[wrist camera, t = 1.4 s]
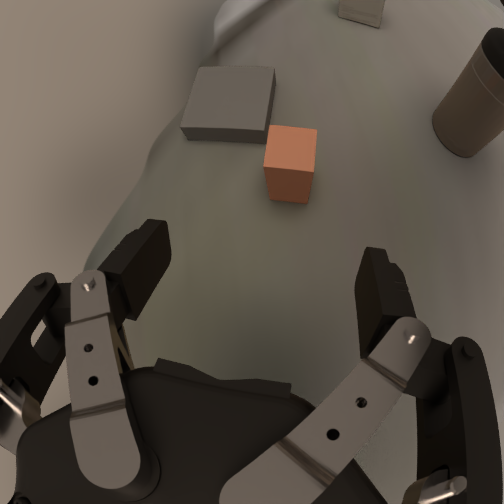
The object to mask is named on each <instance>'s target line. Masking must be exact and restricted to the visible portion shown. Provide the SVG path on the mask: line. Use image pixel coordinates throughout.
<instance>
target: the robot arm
mask: <svg viewBox="0 0 504 504" xmlns="http://www.w3.org/2000/svg"><path fill="white" fill-rule="evenodd" d="M500 1H501V3H502V4H503V6H504V0H500ZM432 120H433V126H434V129H435V132H436V134H437V136H438V137H439V139H440V140H441V142H442V143H443V144H444V145H445V146H446V147H447V148H448V149H449V150H450V151H452V152H453V153H455V154H457V155H459V156H462V157H471V156H474V155H475V154H476V153H477V152H478V151H480V150H481V149H482V148H483V147H484V146H486V145H487V144H488V143H489V142H490V141H492V140H493V139H494V138H495V137H496V136H497V135H498V134H500V133H501V132H502V131H503V130H504V29H502V28H491V29H490V30H489V31H488V32H487V33H486V35H485V36H484V38H483V40H482V41H481V43H480V45H479V46H478V48H477V49H476V51H475V52H474V54H473V56H472V57H471V59H470V60H469V62H468V64H467V65H466V67H465V68H464V70H463V71H462V73H461V74H460V76H459V77H458V79H457V80H456V82H455V83H454V85H453V86H452V88H451V89H450V90H449V92H448V93H447V95H446V96H445V97H444V99H443V100H442V102H441V103H440V105H439V106H438V107H437V109H436V110H435V112H434V114H433V119H432ZM170 261H171V246H170V239H169V232H168V225H167V222H166V221H164V220H155V219H147V220H146V221H145V222H144V224H143V225H142V226H141V227H140V228H139V229H136V230H134V231H132V232H131V233H129V234H127V235H126V236H125V237H124V238H123V239H122V241H121V242H120V244H118V245H117V246H116V247H115V250H113V251H112V252H111V253H110V254H109V256H108V257H107V258H106V259H105V260H104V262H103V263H102V264H101V265H100V266H99V268H98V269H97V270H88V271H85V272H82V273H81V274H79V275H78V276H77V277H75V278H74V280H73V281H72V283H57V281H56V279H55V277H54V275H53V274H52V273H48V272H47V273H41V274H39V275H36V276H35V277H33V278H32V279H31V280H30V281H29V282H28V284H27V285H26V286H25V287H24V289H23V290H22V292H21V293H20V294H19V295H18V296H17V298H16V299H15V300H14V302H13V303H12V304H11V305H10V307H9V308H8V309H7V311H6V312H5V314H4V315H3V316H2V318H1V319H0V445H1V446H2V447H4V448H5V449H7V450H9V451H10V452H11V453H13V454H14V455H16V467H17V472H16V474H17V475H16V487H15V492H14V495H13V497H12V498H11V500H10V501H9V503H8V504H388V503H387V502H386V500H385V499H384V498H383V497H382V495H381V494H380V493H379V491H378V490H377V489H376V487H375V486H374V485H373V483H372V482H371V481H370V479H369V478H368V477H367V475H366V474H365V473H364V471H363V470H362V469H361V467H360V466H359V465H358V463H357V462H356V461H355V459H354V456H355V455H356V454H357V453H358V452H359V450H360V449H361V448H362V447H363V446H364V444H365V443H366V442H367V441H368V440H369V438H370V437H371V436H372V435H373V433H374V432H375V431H376V429H377V428H378V427H379V425H380V424H381V423H382V421H383V420H384V419H385V417H386V416H387V415H388V413H389V412H390V410H391V409H392V408H393V406H394V405H395V403H396V402H397V400H398V399H399V397H400V396H401V394H402V393H406V394H409V395H412V396H415V397H416V411H417V481H415V482H414V483H412V484H411V485H410V486H409V487H408V488H407V490H406V492H405V494H404V497H403V501H402V504H502V500H503V497H502V495H503V489H502V488H503V483H502V482H503V481H502V460H501V447H500V438H499V430H498V422H497V416H496V410H495V404H494V399H493V394H492V389H491V384H490V380H489V376H488V371H487V367H486V364H485V360H484V356H483V353H482V350H481V348H480V347H479V345H478V344H477V343H476V342H475V341H473V340H472V339H470V338H468V337H458V338H456V339H455V340H454V341H453V343H452V344H451V345H450V344H447V343H444V342H441V341H439V340H436V339H434V338H432V337H431V333H430V331H429V329H428V327H427V326H426V325H425V324H424V323H423V322H421V321H420V320H418V319H417V318H416V314H415V310H414V307H413V303H412V300H411V296H410V293H409V292H408V287H407V284H406V280H405V277H404V274H403V272H402V271H401V269H400V268H399V267H398V266H397V265H396V264H395V263H390V262H389V259H388V256H387V253H386V250H385V249H380V248H373V247H366V249H365V251H364V254H363V257H362V261H361V264H360V267H359V270H358V274H357V277H356V281H355V301H356V310H357V320H358V331H359V344H360V359H362V360H361V361H360V362H359V364H358V365H357V366H356V367H355V368H354V369H353V370H352V371H351V373H350V374H349V375H348V376H347V377H346V378H345V379H344V380H343V381H342V382H341V383H340V384H339V386H338V387H337V388H336V389H335V390H334V391H333V392H332V393H331V394H330V395H329V396H328V397H327V398H326V399H325V400H324V401H323V402H322V403H321V404H320V405H319V406H318V407H317V408H315V407H314V406H313V405H312V404H311V403H309V402H308V401H306V400H305V399H303V398H301V397H299V396H297V395H294V394H292V393H290V390H291V384H290V383H282V382H275V381H268V380H261V379H244V380H218V379H216V378H214V377H211V376H209V375H207V374H205V373H203V372H201V371H199V370H197V369H195V368H193V367H191V366H189V365H185V364H181V363H177V362H173V361H169V360H165V359H161V358H158V360H157V362H156V364H155V366H154V367H142V368H137V369H135V367H134V364H133V361H132V358H131V354H130V350H129V346H128V342H127V338H126V333H125V329H124V326H123V322H124V320H125V318H127V319H130V320H134V321H136V320H137V318H138V317H139V315H140V313H141V311H142V310H143V308H144V306H145V305H146V303H147V301H148V299H149V298H150V296H151V294H152V293H153V291H154V289H155V288H156V286H157V284H158V283H159V281H160V279H161V278H162V276H163V274H164V273H165V271H166V270H167V268H168V266H169V264H170ZM41 320H43V322H44V324H45V325H46V328H45V330H44V331H43V332H42V334H41V336H40V337H39V339H38V340H37V342H36V344H35V345H34V347H32V345H31V335H32V333H33V332H34V330H35V329H36V327H37V326H38V324H39V322H40V321H41ZM65 356H66V362H67V373H68V383H69V391H70V398H71V403H70V404H68V405H66V406H64V407H62V408H61V409H59V410H57V411H55V412H53V413H51V414H49V415H47V416H45V417H44V418H42V417H41V416H40V414H41V408H40V405H41V403H42V401H43V399H44V397H45V395H46V393H47V391H48V389H49V387H50V385H51V383H52V381H53V379H54V377H55V375H56V373H57V371H58V369H59V367H60V366H61V364H62V362H63V360H64V358H65Z"/></svg>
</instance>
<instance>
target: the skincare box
mask: <svg viewBox="0 0 504 504" xmlns="http://www.w3.org/2000/svg"><path fill="white" fill-rule="evenodd" d="M384 3H385V0H339V14H338V17H341V18H345V19H349V20H353V21H357V22H360V23H364V24H367V25H370V26H374V27H377V28H379V27H380V22H381V17H382V13H383V8H384Z"/></svg>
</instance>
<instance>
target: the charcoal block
mask: <svg viewBox="0 0 504 504" xmlns="http://www.w3.org/2000/svg"><path fill="white" fill-rule="evenodd" d="M275 86H276V78H275V68H274V67H248V66H219V67H199V69H198V72H197V75H196V78H195V81H194V84H193V87H192V90H191V93H190V96H189V99H188V102H187V105H186V109H185V112H184V115H183V118H182V122H181V125H180V128H181V130H182V131H183V133H184V134H185V136H186V137H187V139H188V140H207V141H229V142H246V143H259V144H266V143H267V137H268V130H269V124H270V118H271V111H272V105H273V98H274V92H275Z"/></svg>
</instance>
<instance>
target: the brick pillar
mask: <svg viewBox="0 0 504 504" xmlns="http://www.w3.org/2000/svg"><path fill="white" fill-rule="evenodd" d="M316 136H317V130H315V129H307V128H298V127H288V126H277V125H270V126H269V132H268V139H267V146H266V152H265V159H264V166H263V167H264V172H265V177H266V182H267V187H268V192H269V197H270V200H278V201H287V202H295V203H303V204H307V203H308V198H309V193H310V188H311V183H312V178H313V173H314V163H315V150H316Z"/></svg>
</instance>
